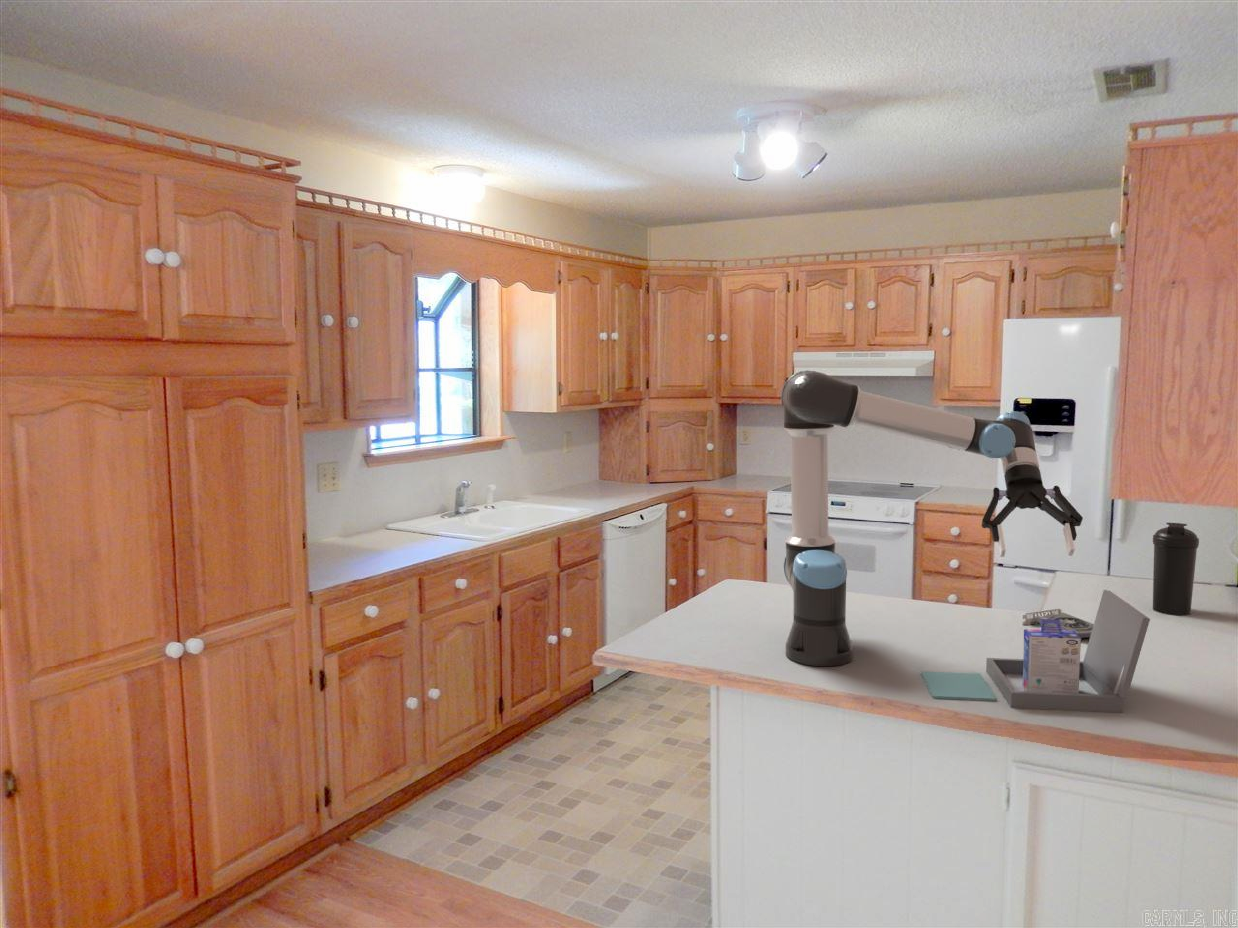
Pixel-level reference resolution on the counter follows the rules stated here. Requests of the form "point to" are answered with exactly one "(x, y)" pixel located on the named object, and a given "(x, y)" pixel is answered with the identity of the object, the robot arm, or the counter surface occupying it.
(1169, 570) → the water bottle
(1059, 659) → the ink cartridge box
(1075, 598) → the counter surface
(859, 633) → the counter surface
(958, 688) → the teal mat
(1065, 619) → the graphics card
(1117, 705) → the equipment case
